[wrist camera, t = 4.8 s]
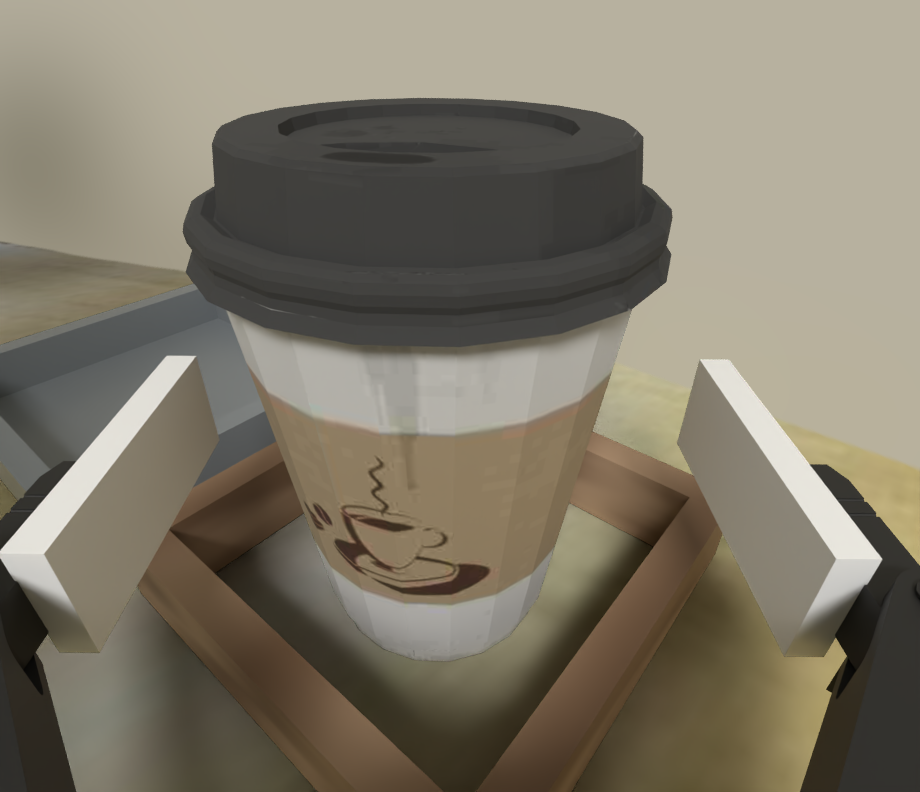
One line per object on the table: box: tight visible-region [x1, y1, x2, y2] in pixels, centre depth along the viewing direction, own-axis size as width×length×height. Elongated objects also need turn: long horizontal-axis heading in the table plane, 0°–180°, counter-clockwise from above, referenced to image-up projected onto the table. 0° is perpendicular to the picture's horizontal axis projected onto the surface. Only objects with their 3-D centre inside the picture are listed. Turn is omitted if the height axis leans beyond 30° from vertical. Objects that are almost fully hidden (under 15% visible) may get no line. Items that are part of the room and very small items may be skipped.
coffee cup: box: [183, 98, 672, 661], centre depth 17 cm, size 11×11×15 cm
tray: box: [0, 284, 276, 500], centre depth 29 cm, size 15×15×3 cm
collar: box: [138, 432, 722, 792], centre depth 20 cm, size 15×15×3 cm
